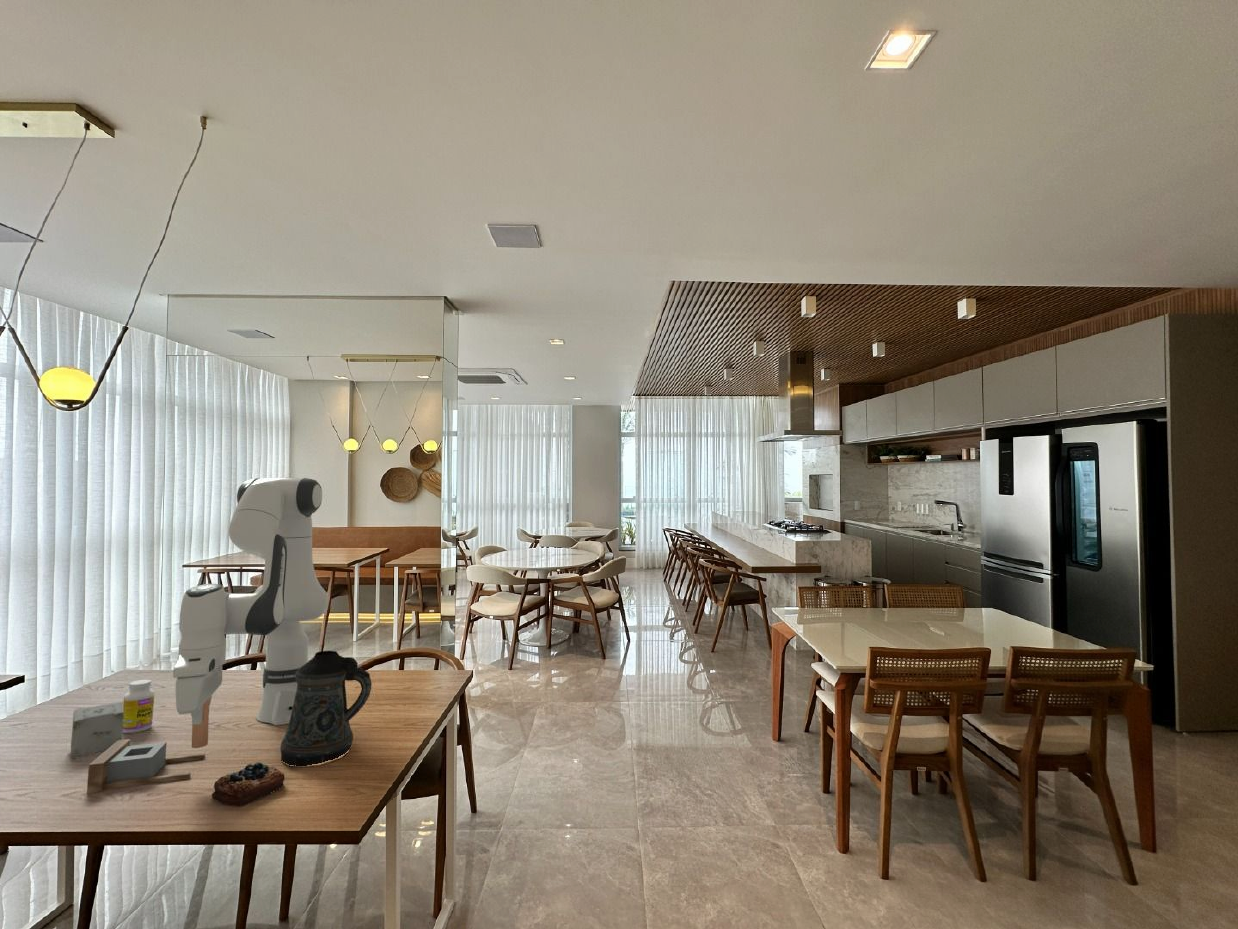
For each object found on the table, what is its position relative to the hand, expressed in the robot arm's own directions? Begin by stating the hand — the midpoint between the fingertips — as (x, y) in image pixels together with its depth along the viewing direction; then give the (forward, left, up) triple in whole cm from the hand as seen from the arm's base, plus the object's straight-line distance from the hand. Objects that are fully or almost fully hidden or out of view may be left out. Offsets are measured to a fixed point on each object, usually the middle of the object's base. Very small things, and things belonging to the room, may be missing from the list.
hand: (200, 719), depth 132 cm
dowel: (0, 0, -6) cm, 6 cm away
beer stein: (-25, -10, -14) cm, 30 cm away
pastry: (-12, +8, -15) cm, 20 cm away
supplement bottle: (+25, -43, -14) cm, 52 cm away
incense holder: (+29, -30, -14) cm, 44 cm away
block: (+14, -10, -14) cm, 22 cm away
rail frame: (+12, -10, -14) cm, 21 cm away
